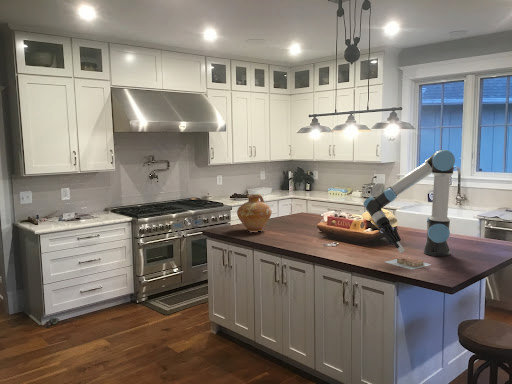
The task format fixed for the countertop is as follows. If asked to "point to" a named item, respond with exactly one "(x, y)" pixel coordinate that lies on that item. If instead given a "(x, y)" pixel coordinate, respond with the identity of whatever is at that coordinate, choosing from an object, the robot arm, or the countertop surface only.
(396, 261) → the mat
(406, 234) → the countertop surface
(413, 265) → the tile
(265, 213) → the jug
